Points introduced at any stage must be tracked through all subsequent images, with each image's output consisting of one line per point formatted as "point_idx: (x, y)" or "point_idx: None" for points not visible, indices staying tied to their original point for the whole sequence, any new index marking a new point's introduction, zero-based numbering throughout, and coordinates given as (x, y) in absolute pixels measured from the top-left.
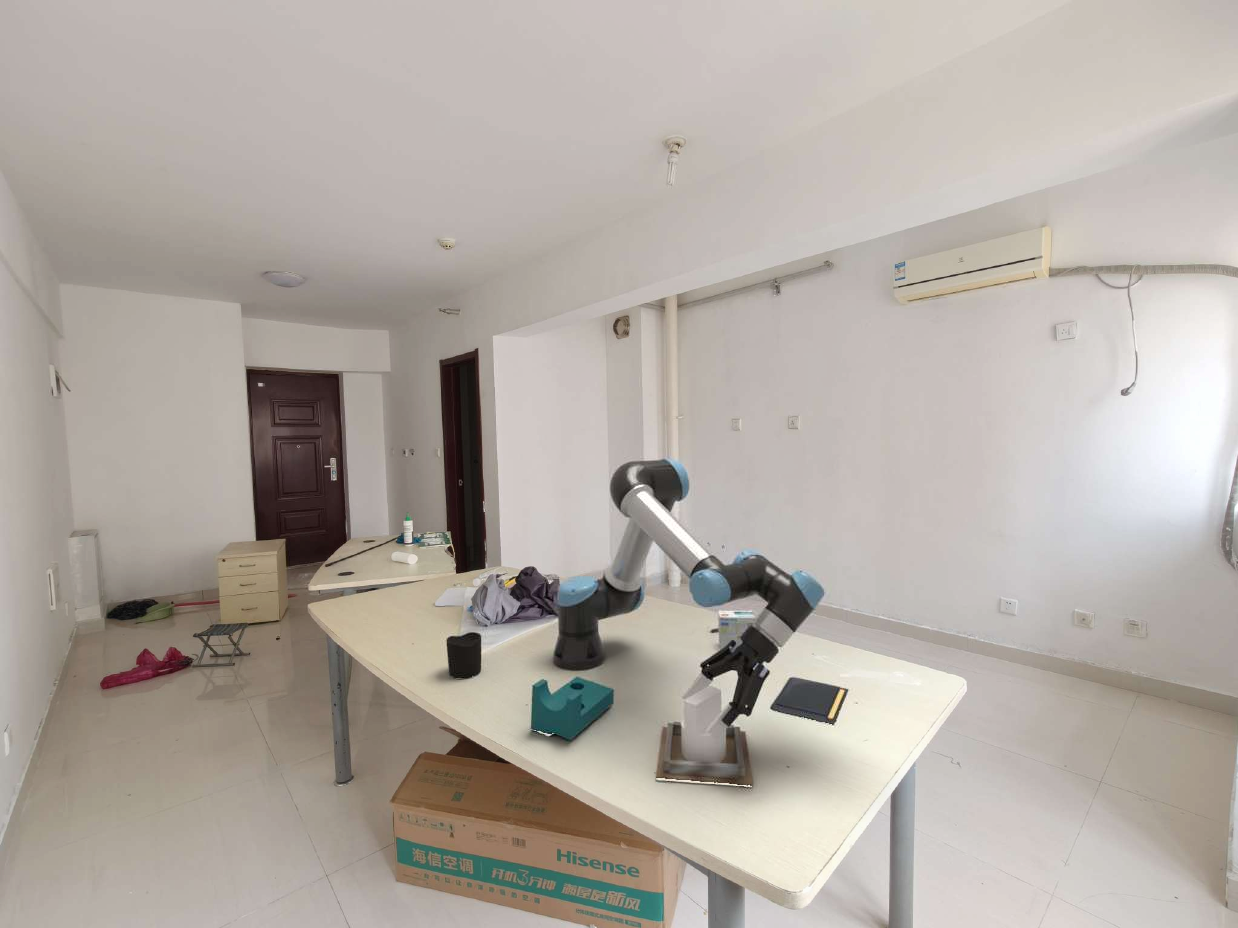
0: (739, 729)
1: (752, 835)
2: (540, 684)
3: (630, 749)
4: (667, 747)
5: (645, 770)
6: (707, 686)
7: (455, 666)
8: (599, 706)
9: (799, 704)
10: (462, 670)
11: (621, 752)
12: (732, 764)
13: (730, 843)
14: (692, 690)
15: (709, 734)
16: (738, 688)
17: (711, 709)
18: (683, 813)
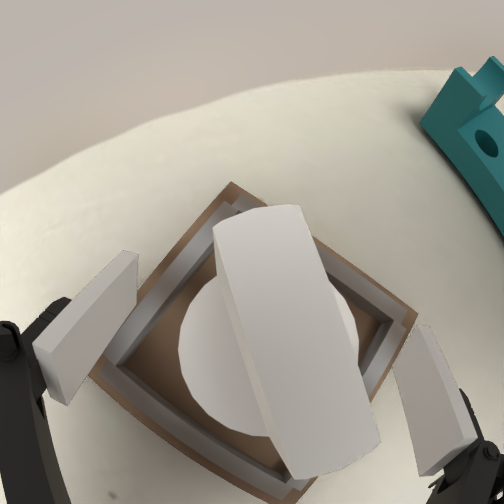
0: (269, 491)
1: (7, 257)
2: (498, 65)
3: (367, 202)
4: None
5: (277, 187)
6: (414, 451)
7: None
8: (496, 199)
9: None
10: None
11: (363, 180)
12: (122, 351)
13: (19, 212)
14: (427, 370)
15: (192, 320)
16: (10, 454)
17: (253, 377)
18: (112, 182)
